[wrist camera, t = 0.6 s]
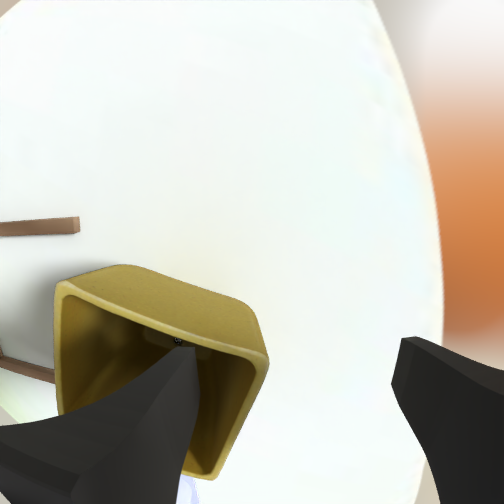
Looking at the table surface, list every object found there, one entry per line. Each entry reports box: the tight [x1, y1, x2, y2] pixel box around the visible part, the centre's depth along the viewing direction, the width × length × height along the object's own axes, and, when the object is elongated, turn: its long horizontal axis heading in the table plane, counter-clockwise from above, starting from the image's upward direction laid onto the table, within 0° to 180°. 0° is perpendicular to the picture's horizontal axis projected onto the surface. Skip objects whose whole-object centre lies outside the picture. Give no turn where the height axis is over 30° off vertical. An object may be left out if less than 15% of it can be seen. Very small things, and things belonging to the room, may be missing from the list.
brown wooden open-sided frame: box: [0, 217, 80, 384], centre depth 19 cm, size 14×14×1 cm
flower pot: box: [53, 265, 269, 480], centre depth 15 cm, size 9×9×9 cm
